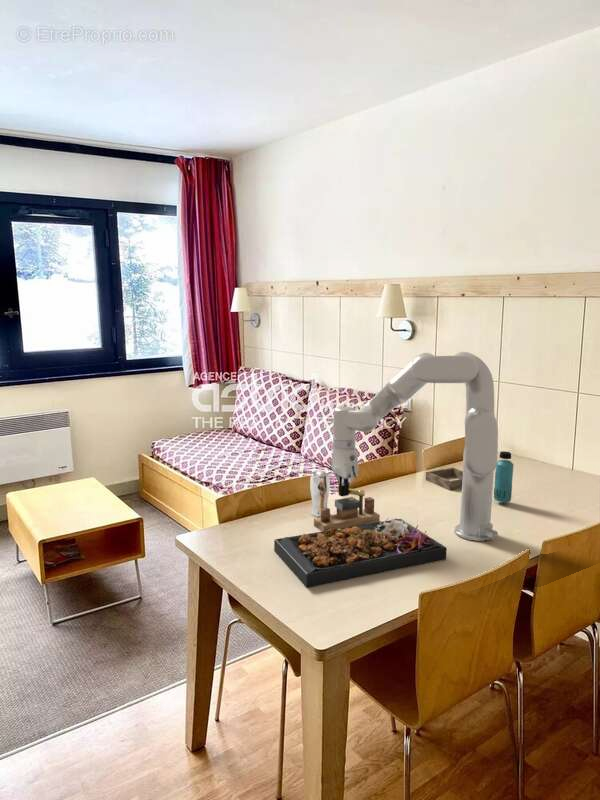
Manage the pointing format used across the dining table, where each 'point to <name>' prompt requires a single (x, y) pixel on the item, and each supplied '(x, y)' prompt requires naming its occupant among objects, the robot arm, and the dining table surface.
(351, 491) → the lever
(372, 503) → the wooden post stand
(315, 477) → the beer glass
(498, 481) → the beverage bottle
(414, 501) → the dining table surface
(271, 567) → the dining table surface
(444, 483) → the square wooden tray
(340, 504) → the grey rectangular block
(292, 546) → the food platter
